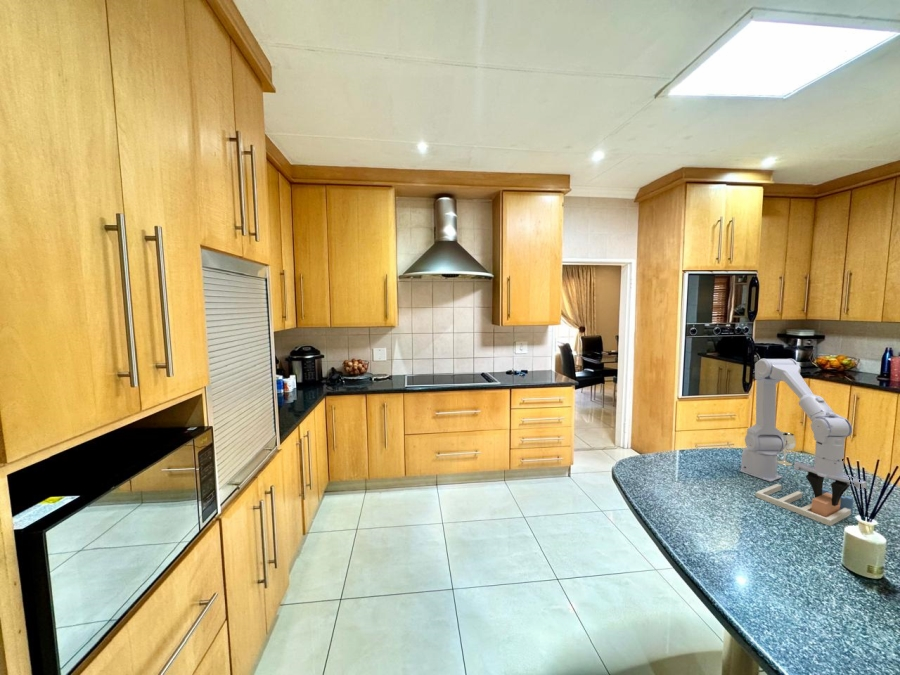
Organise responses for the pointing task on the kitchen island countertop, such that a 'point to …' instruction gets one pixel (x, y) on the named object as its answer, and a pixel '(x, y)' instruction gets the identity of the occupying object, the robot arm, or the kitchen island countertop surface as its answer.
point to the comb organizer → (802, 511)
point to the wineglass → (787, 446)
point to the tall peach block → (824, 505)
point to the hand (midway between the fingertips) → (826, 501)
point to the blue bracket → (843, 501)
